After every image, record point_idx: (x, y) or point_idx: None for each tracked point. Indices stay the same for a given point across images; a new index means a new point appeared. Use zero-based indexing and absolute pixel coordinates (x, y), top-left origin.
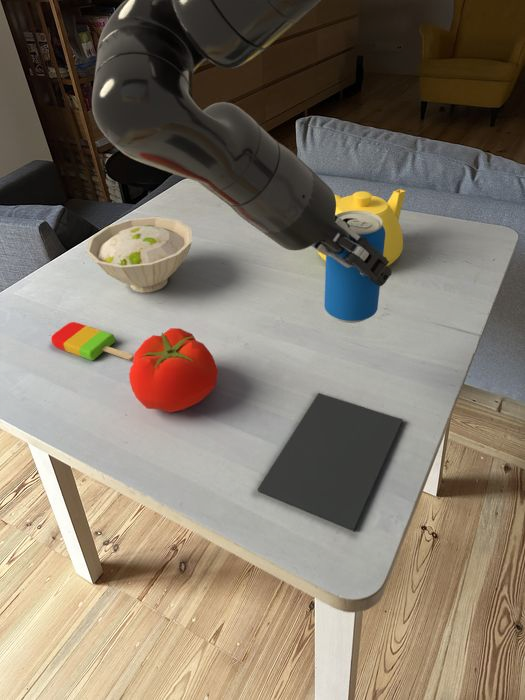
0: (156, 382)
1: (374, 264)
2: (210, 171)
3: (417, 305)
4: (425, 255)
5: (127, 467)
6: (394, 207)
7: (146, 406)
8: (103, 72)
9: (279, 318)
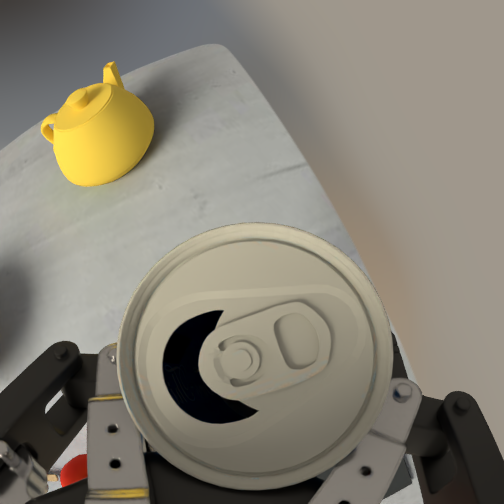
0: None
1: (445, 444)
2: None
3: (221, 166)
4: (173, 102)
5: None
6: (114, 81)
7: None
8: None
9: (105, 309)
